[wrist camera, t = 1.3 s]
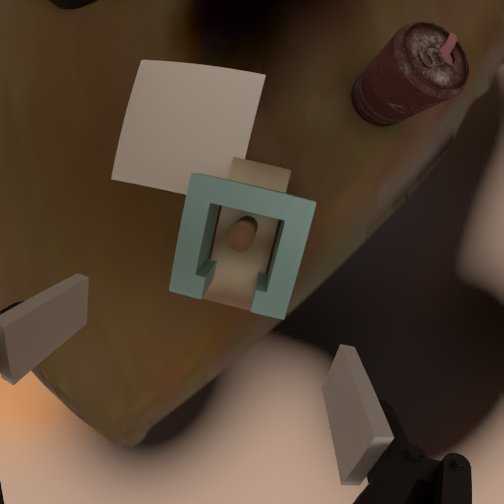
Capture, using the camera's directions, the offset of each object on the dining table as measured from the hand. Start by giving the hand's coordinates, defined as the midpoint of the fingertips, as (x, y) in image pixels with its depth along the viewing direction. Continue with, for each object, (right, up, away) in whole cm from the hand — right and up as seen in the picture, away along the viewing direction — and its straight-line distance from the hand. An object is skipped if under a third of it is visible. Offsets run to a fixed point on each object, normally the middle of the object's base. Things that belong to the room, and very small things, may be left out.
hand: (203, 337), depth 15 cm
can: (+16, +20, +14) cm, 29 cm away
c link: (+2, +5, +13) cm, 14 cm away
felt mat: (-5, +17, +16) cm, 24 cm away
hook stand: (+2, +6, +18) cm, 19 cm away
